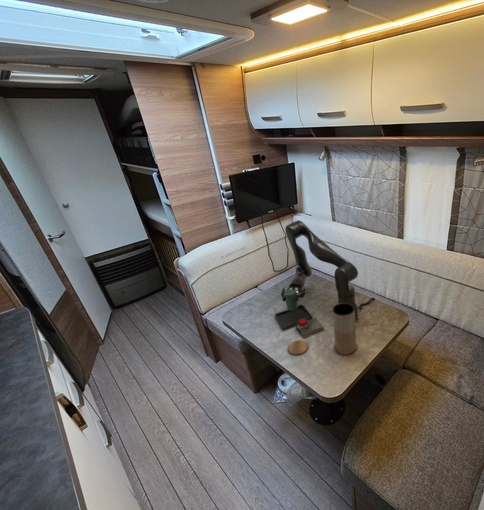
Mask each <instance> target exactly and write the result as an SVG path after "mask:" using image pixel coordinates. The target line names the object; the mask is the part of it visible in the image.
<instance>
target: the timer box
mask: <svg viewBox="0 0 484 510" xmlns="http://www.w3.org/2000/svg"><path fill="white" fill-rule="evenodd" d="M305 320H306V319H305ZM296 328H297V329H298V331H299V332H300V334H301V335H302V337H303V338H307V337H309V336H312V335H314V334H316V333H319V332H321V331H323V330H324V325H322V323H321V322H320V321H319V320H318V318H317V317H312V319H310V320H306V324H305V325H300V324H299V321H298V322H297V325H296Z"/></svg>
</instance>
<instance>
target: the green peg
mask: <svg viewBox="0 0 484 510" xmlns="http://www.w3.org/2000/svg"><path fill="white" fill-rule="evenodd" d="M284 294H285V305H286V310H289V311H293V310H296V309H297V308H298V306H299V305H298V301H297V302H295V297H296V291H295V290H292V289H291V290H287V291H285V293H284Z"/></svg>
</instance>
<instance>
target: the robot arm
mask: <svg viewBox="0 0 484 510" xmlns="http://www.w3.org/2000/svg"><path fill="white" fill-rule="evenodd" d="M284 231H285V234H286V237H287V240H288V242H289V245H290V248H291V250H292V252H293V256H294V260H295V264H296V265H297V266H296V267H295V270H294V272H295V275H294V277H293V278H292V280H291V282H290V284H289V286H288V287H287V289H285V287H283V288H282V289H281V292H280V295H281V298H282V301H283V302H285V303H286V300H285V294H284V293H285V291H287V290H291V289H292V290H295V291H296V297H295V302H297V303H298V301H299V299H300V298H301V299H303V298H304V297H305V295H306V294H307V289H306V288H304V286H305V282H306V280H307V278H309V277H311V276H312V273H313V270H312V266H311V265H310V263H309V262H308V258H307V254H306V253H307V252H306V251H305V250H304V249H303V248H302V247H301V246H300V245H299V244H298V242H297V239H298V238H300V237H302V236H303V237H305V239H306V240H307V243H308V249H309V252H310V253H311V254H312V255H313V256H314V257H315V258H316V259H317V260H319V261H321V262H323V263H326V264H330V265H333V266H335V267H337V268H336V269H335V270H334V275H333V276H334V283H335V289H336V291H337V304H339V303H350V304H352V305H353V306H354V308H355V321H356V320H358V309H360V310H362V306H366V305H369V303H370V302H371V301H372V300H375V299H376V297H371V298H370V299H368V301H367V302H364V303H360V304H359V306H358V304H356V289H355V287H354V286H353V285H352V284H350V282H352V281H354V280H355V279H357V278H358V276H359V271H358V269H357V267H356V266H355V265H354V264H353V263H352V262H350V261H349V260H347V259H346V258H345V257H343V256H341V254H339V253H337V251H335V250H334V249H332V248H331V247H330V245H328V244H327V243H326V242H324V241H323V240H322V239H321V238H319V237H318V236H317V235H316V234H315V233H314V232H313V231H312V230H311V229H310V228H309V227H308V226H307V225H306V223H304V222H303V221H301V220H300V219H298V220H295V221H292V222H291V223H288V224H287V225H286V226H285V228H284Z"/></svg>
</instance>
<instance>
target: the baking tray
mask: <svg viewBox="0 0 484 510" xmlns="http://www.w3.org/2000/svg"><path fill="white" fill-rule="evenodd" d="M274 317H275V319H276V320H277V322H278V324H279V326H280V327H281V329H282V330H283V331H286V330H287V329H288V330H289V329H290V328H294V327H297V322H298V321H299V320H300V319H306V320H310V319H313V316H312V314H311V312H309V311H308V309H307V308H306V307H305V306H304V304H300V305H298V308H297V309H296V310H293V311H289V310H287V309H285V310H283V311H279V312H277V313H275V314H274Z"/></svg>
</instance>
